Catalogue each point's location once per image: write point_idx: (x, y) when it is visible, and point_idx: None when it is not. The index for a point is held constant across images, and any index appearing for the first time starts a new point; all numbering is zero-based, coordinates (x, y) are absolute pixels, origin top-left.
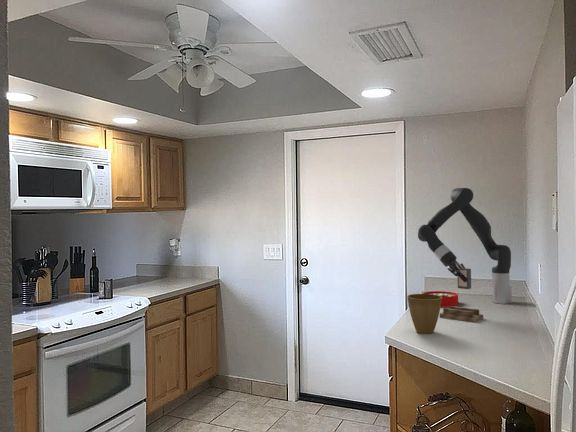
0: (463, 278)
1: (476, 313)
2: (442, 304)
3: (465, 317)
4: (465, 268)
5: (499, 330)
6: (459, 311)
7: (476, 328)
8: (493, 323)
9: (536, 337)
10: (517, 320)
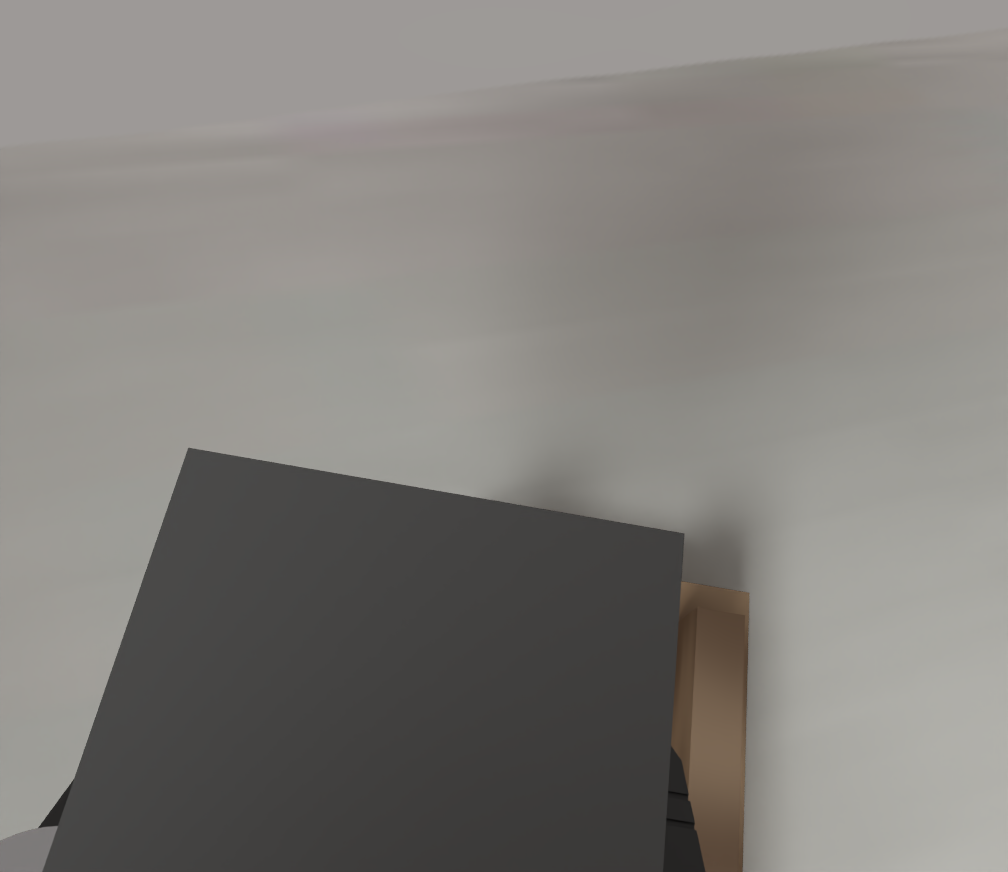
0: (681, 826)
1: None
2: None
3: (744, 728)
4: (188, 862)
5: (917, 307)
6: (733, 842)
7: (997, 512)
8: (655, 407)
9: (940, 59)
10: (373, 227)
